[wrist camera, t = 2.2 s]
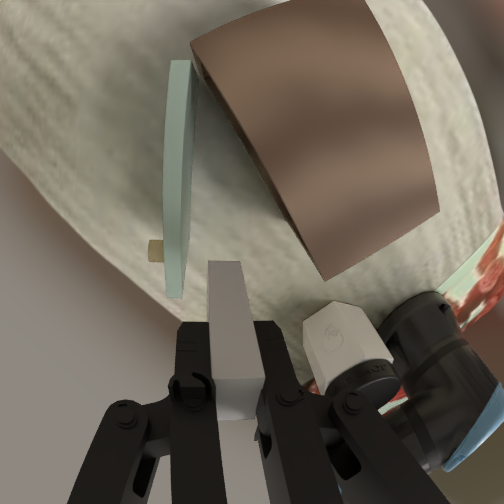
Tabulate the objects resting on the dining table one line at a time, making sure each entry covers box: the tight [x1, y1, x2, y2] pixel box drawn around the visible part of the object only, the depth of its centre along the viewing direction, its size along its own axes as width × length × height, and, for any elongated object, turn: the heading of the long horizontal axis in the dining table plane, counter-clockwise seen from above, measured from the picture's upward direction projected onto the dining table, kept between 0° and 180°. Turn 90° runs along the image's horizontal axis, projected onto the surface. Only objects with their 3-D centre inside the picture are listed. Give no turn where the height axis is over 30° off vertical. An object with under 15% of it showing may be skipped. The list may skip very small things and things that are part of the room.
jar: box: [303, 301, 401, 410], centre depth 29 cm, size 9×8×12 cm
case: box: [190, 0, 440, 281], centre depth 18 cm, size 16×10×10 cm, turn 29°
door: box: [148, 60, 199, 298], centre depth 18 cm, size 14×3×9 cm, turn 174°
